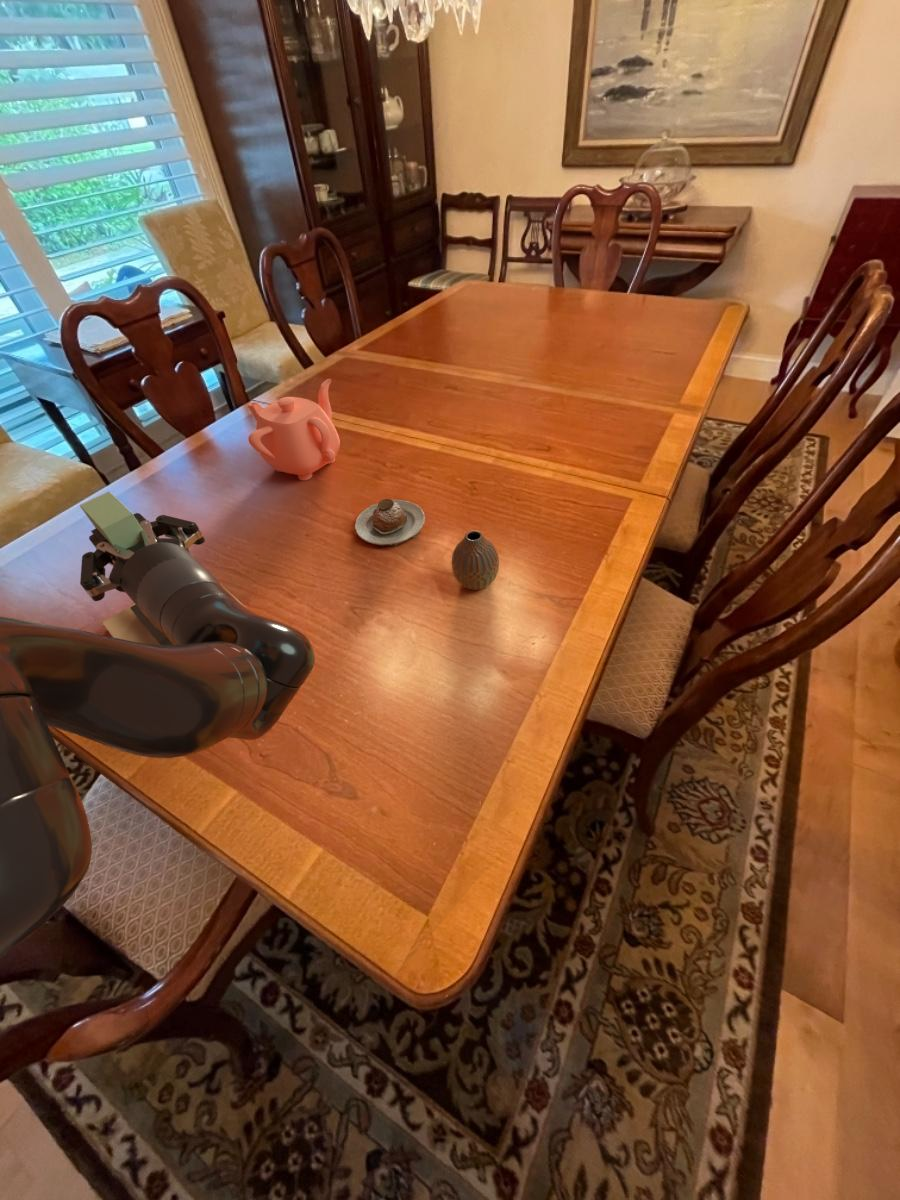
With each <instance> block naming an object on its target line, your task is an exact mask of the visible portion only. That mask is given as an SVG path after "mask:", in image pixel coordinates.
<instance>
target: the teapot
mask: <svg viewBox="0 0 900 1200" xmlns="http://www.w3.org/2000/svg"><path fill="white" fill-rule="evenodd" d="M331 383H332V378H327V379H325V380H324V381H323V382H322V383H321V385H320V386H319V389H318V398H317V403H316V402H315V401H313V400H311V399H308V398H304V397H297V396H285V397H281V398H280V399H278V400H275V401H274V402H272V403H270V404H269V405H267V406H265V407H263V406H261V405H260V404H259V402H254V401H252V402H250V403H249V404H247V407H248V409H249V410H250V413H251V415H252V416H253V418H254V420H255V421H256V427H255V428H256V429H255V430H254V431H252V432H251V433H250V434H249V436H248V444H250V446H251V447H252V448H253V450H255V451H256V452H258V453H259V454H260V456H261V458H262V459H263V460H264V462H266V463H267V464H269V466H271V467H272V468H274V469H275V471H276V472H279V473H280V472H283V473H286V474H290V475H297V477H298V479H299V480H300V481H308V480H310V479H311V478H312V477H313V473H314V472H316V471H318V470H320V469H321V468H323V467H324V466H326V465H327V464H328V465H329V464H332V463H334V462H335V461H336V456H337V455H338V453H339V450H340V446H341V440H340V436H339V433H338V431H337V428H336V427H335V425H334V423H333V422H332V419H333V410H332V406H331V404H330V398H329V388H330V386H331Z"/></svg>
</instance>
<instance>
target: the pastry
mask: <svg viewBox="0 0 900 1200" xmlns="http://www.w3.org/2000/svg"><path fill="white" fill-rule="evenodd" d="M425 521H426V515H425V513H424V510H423V509H422V507H420V506H419V504H417V503H414V502H411V501H408V500H404V499H390V498H384V499H381V500H380V501H378V502H377V503H375V504H372V505H369V506H368V507H367V508H366V509H364V510H362V511H361V512H360V513H359V515H358V516H357V517H356V519H355V524H354V530H355V532H356V534H357V536H358V537H359V538H360V539H361V540H362V541H364V542H367V543H369V544H373V545H376V546H380V547H387V546H389V547H397V546H398V545H401V544H403V543H404V542H407V541H408V540H411V539H414V537H416V536H418V535H419V532H420V531H421V530H422V528H423V527H424V525H425Z"/></svg>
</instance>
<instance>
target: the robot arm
mask: <svg viewBox="0 0 900 1200" xmlns="http://www.w3.org/2000/svg"><path fill="white" fill-rule="evenodd" d="M132 514H133V515H134V517H135V518H136V520H137V521H138V523H139V525H140V526H141V528H142V529H143V530H142V531H140V532H141V535H142V537H143V540H142V541H140V542H139V543H137V544H136V545H135V546H132V547H129V548H127V549H124V548H122V547H120V546H118V545H116V544H115V545H111V544H110V543H109V542H108V541H107V539H106V538H105V537H104V536H103V535H102V534H101V533H100V532H99V531H98V529H97V528H94V529H91V530H90V532H91V535H89V536H88V540H89V541H90V542H91V544H92V545H93V547H94V548H95V551H87V552H85V553H83V555H82V556H81V567H80V581H79V585H80V586H81V587H82V589H83V590H84V591H85V592H86V593H87V595H88V596H90V598H91V599H92V601H94V602H100V601H101V600H103V599H104V598H105V596H106V592H110V591H113V590H116V591H118V592H121V593H125V594H126V595H127V596H128V597H129V599H130V600H131V601H132V602H133V604H136V605H137V606H138V608H139V609H140V610H141V611H142V612H143V614H144V615H145V617H146V619H147V620H148V621H149V622H150V623H152V624H153V625H154V626H155V627H156V628H157V629H159V630H160V631H161V632H163V633H164V634H165V635H166V636H167V637H168V639H169V640H170V641H171V642H172V643H173V644H174V645H151V644H144V643H138V642H133V641H128V640H123V639H119V638H114V637H112V636H109V635H104V634H99V633H94V632H90V631H86V630H81V629H75V628H68V627H62V626H56V625H51V624H47V623H46V624H45V623H40V622H34V621H31V620H30V621H29V620H23V619H18V618H13V617H7V616H3V615H0V959H1V958H3V957H5V956H6V955H7V954H8V953H10V952H11V951H13V950H15V948H17V947H19V946H20V945H21V944H22V943H24V942H26V940H28V939H29V938H30V937H31V936H32V935H33V934H35V933H36V932H37V931H39V930H40V929H41V928H42V927H43V926H45V925H46V924H47V923H48V922H49V921H50V920H51V919H52V918H53V917H54V916H55V915H56V914H57V912H59V910H60V909H61V908H62V907H63V906H64V905H65V904H66V903H67V902H68V901H69V900H70V898H71V897H72V896H73V895H74V894H75V892H76V891H77V889H78V887H79V886H80V884H81V883H82V881H83V879H84V878H85V876H86V875H87V872H88V870H89V867H90V864H91V859H92V850H93V842H92V834H91V829H90V824H89V819H88V816H87V813H86V809H85V806H84V802H83V800H82V798H81V795H80V794H79V790H78V788H77V785H76V783H75V781H74V778H72V777H71V775H70V772H69V770H68V768H67V765H66V764H65V761H64V759H63V757H62V755H61V752H60V750H59V748H58V746H57V743H56V742H55V739H54V737H53V735H52V732H51V730H50V728H49V727H51V728H54V729H57V730H60V731H64V732H68V733H70V734H74V735H77V736H79V737H82V738H85V739H87V740H91V741H93V742H96V743H98V744H101V745H104V746H107V747H109V748H112V749H114V750H118V751H121V752H124V753H128V754H131V755H135V756H140V757H145V758H149V759H150V758H152V759H175V758H181V757H186V756H188V757H189V756H191V755H195V754H197V753H200V752H202V751H205V750H207V749H209V748H211V747H213V746H214V745H216V744H219V743H221V742H223V741H225V740H227V739H239V740H245V741H255V740H258V739H260V738H262V737H263V736H265V735H266V734H267V733H268V732H269V731H270V730H271V729H273V728H274V727H275V725H276V724H277V722H278V721H279V720H280V718H281V716H282V715H283V714H284V713H285V711H286V709H287V707H288V706H289V705H290V703H291V701H293V699H294V697H295V696H296V695H297V693H298V692H299V691H300V689H301V687H302V686H303V685H304V683H305V681H306V680H307V679H308V678H309V676H310V674H311V673H312V671H313V668H314V666H315V662H316V661H315V660H316V659H315V657H316V656H315V650H314V647H313V645H312V643H311V640H309V638H308V637H307V636H306V634H304V633H303V632H302V631H300V630H298V628H296V627H294V626H292V625H289V624H287V623H285V622H283V621H280V620H277V619H273V618H270V617H267V616H265V615H262V614H260V613H256V612H254V611H253V610H251V609H250V608H248V607H247V606H245V605H244V604H243V605H244V606H245V607H244V606H243V605H241V604H240V603H239V602H238V601H237V600H236V599H235V598H236V597H235V596H234V595H233V596H234V597H235V598H234V597H233V596H231V595H230V594H229V593H228V592H227V591H226V590H225V589H224V588H223V587H224V586H223V585H222V584H221V582H220V581H219V580H218V578H217V577H216V576H215V575H214V574H213V573H212V572H211V571H210V570H209V569H207V567H205V566H204V565H203V564H202V563H201V562H200V561H199V560H198V559H197V558H196V557H194V556H193V555H192V553H190V550H189V548H191V546H192V545H195V546H199V545H203V544H204V543H205V541H206V539H205V537H204V535H203V533H202V531H201V530H200V528H199V526H198V524H197V522H194V521H191V520H186V519H183V518H178V517H174V516H171V515H167V514H161V515H160V514H159V515H158V516H157V517H156V518H155V520H154V521H150V520H148V519H146V517H144V516H143V515H142V514H141V513H139V512H135V513H132ZM161 536H164V537H165V538H164V537H161ZM107 565H110V566H112V568H111V571H110V574H109V575H108V577H106V568H105V567H106V566H107ZM222 586H223V587H222Z"/></svg>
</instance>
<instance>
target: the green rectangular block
mask: <svg viewBox="0 0 900 1200" xmlns="http://www.w3.org/2000/svg"><path fill="white" fill-rule="evenodd" d="M79 507H80V509H81V510H82V511H83V513H84V514H85V515H86V517H87V518H88V520H89V521H90V523H91V524H92V525H93V526H94V529H96V528H97V529H98V531H99V532H100V533H101V534H102V535H103V536H104V537H105V538H106V539H107V541H108V542H109V543H110V544H111V545H115V544H116V545H118V546H120V547H122V548H124V549H127V548H129V547H132V546H135V545H136V544H137V543H139V542H140V541H142V540H143V537H142V535H141V532H140V531H142V530H143V529H142V528H141V526H140V525H139V523H138V521H137V520H136V518H135V517H134V515H133V514H134V513H133V512H132V511H131V510H130V509H128V508H127V507H126V506H125V504H123V503H122V502H121V501H120V500H119V499H118V498H117V497H116V496H115V495H114V494H113V493H111V491H107V492H105V493H102V494H100V495H99V496H96V497H94V498H92V499H90V500H88V501H86V502H83V503H81V504H79Z"/></svg>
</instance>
